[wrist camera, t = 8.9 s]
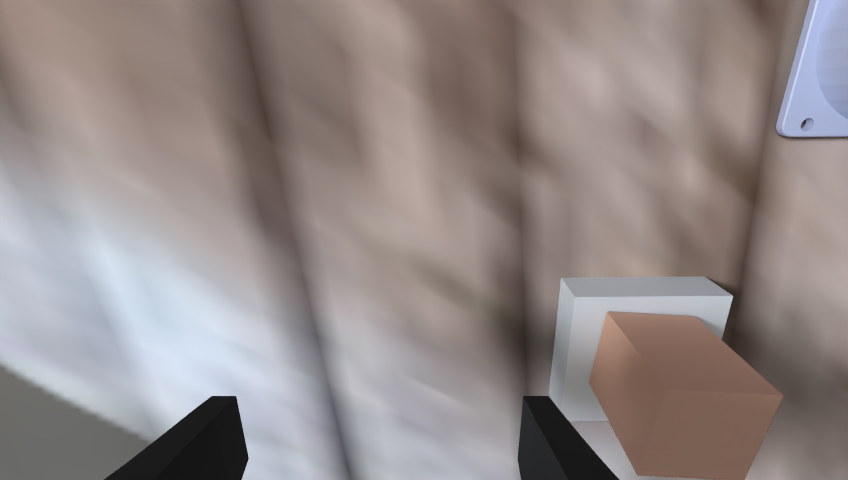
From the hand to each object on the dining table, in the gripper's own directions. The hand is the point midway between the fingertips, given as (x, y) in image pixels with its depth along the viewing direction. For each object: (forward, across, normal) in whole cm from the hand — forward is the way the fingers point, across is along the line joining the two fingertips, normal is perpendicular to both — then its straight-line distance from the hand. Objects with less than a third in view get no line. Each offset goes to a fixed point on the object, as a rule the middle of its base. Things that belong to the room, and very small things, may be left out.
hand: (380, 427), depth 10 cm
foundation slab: (+11, -11, +4) cm, 16 cm away
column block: (+8, -11, +4) cm, 14 cm away
